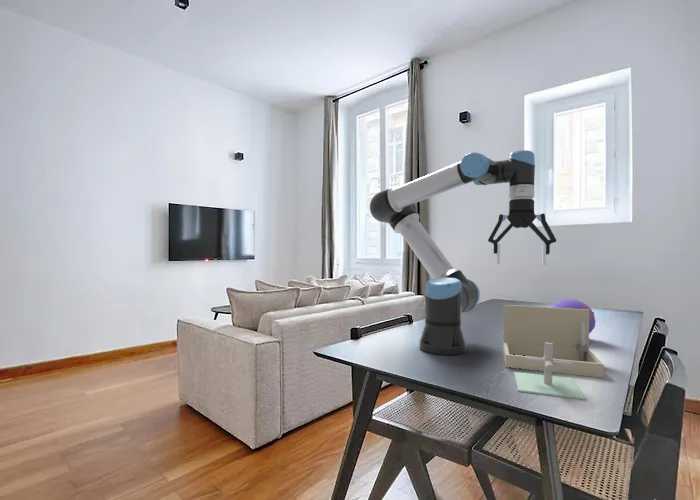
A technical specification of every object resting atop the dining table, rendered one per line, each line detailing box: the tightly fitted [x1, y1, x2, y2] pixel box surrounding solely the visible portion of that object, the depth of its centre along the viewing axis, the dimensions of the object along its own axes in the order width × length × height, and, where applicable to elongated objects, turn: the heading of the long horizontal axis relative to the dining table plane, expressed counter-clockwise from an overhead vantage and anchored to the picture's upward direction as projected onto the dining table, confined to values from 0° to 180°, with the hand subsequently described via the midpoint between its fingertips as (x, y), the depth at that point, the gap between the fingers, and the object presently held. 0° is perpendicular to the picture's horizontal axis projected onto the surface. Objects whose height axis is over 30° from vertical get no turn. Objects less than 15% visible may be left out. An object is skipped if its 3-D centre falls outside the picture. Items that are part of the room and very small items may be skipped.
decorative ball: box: [552, 298, 596, 335], centre depth 145 cm, size 15×15×15 cm
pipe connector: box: [526, 342, 572, 385], centre depth 95 cm, size 10×10×10 cm
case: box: [502, 304, 605, 379], centre depth 113 cm, size 24×17×16 cm
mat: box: [513, 371, 587, 401], centre depth 95 cm, size 14×14×1 cm
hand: (520, 264), depth 125 cm, fingers open, 13 cm apart
